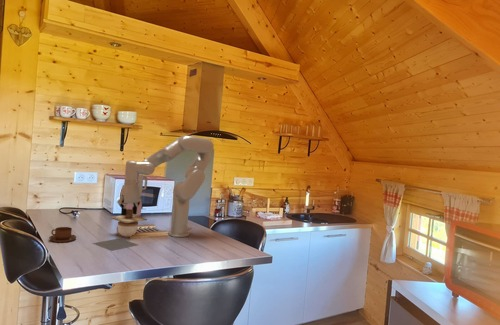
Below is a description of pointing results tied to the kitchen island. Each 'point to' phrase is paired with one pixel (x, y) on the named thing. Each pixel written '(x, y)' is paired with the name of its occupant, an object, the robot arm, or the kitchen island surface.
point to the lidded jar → (127, 228)
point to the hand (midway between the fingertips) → (128, 214)
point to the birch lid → (128, 217)
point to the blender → (130, 205)
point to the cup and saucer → (62, 235)
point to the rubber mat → (115, 244)
